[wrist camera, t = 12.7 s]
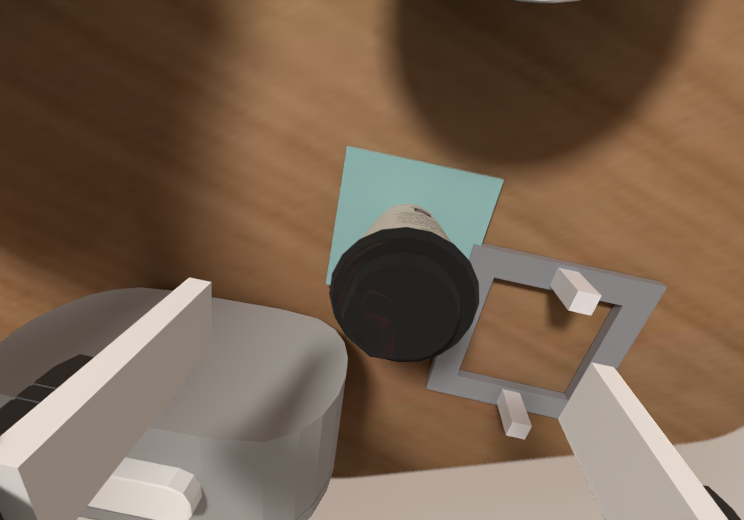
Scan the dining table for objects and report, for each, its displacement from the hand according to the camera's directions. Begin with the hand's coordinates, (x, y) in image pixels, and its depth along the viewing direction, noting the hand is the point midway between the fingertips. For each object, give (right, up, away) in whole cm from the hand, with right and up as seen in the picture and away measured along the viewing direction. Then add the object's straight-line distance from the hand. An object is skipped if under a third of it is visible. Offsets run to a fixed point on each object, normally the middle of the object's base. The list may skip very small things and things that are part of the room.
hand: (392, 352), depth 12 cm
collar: (+11, -3, +15) cm, 19 cm away
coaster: (+2, +5, +12) cm, 14 cm away
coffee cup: (+2, +5, +12) cm, 13 cm away
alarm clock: (-12, -4, +18) cm, 22 cm away
